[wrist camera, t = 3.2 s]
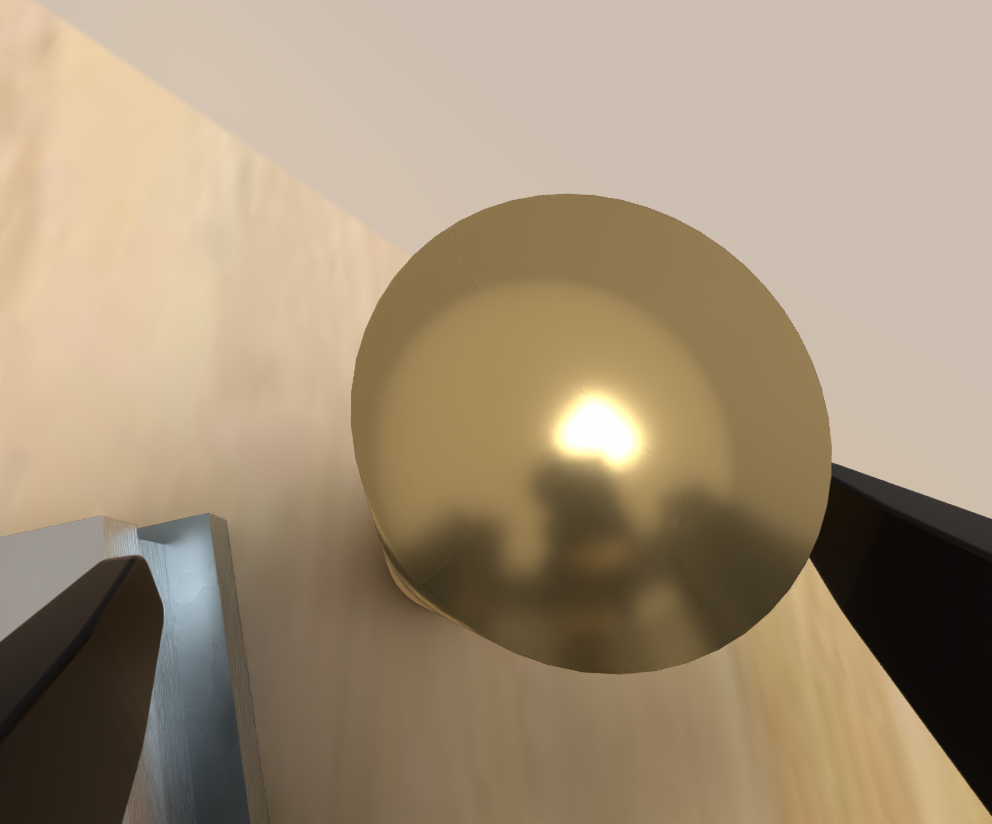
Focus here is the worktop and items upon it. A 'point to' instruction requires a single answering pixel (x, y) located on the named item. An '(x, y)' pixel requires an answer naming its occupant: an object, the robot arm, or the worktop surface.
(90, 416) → the worktop surface
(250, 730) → the tiered gray console
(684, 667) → the worktop surface
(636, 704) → the worktop surface
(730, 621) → the pin
